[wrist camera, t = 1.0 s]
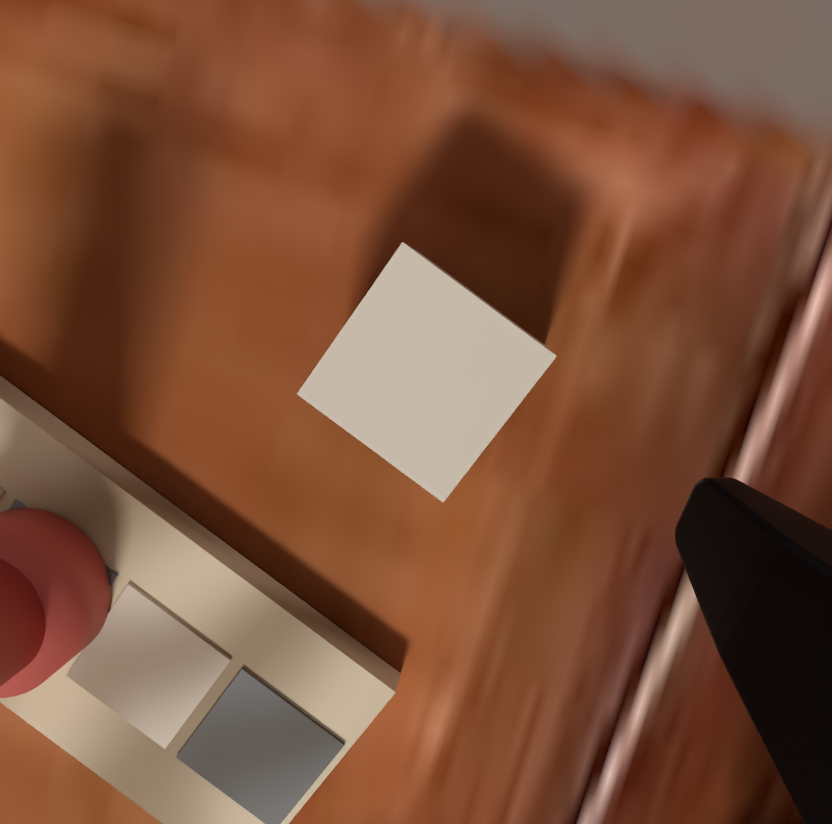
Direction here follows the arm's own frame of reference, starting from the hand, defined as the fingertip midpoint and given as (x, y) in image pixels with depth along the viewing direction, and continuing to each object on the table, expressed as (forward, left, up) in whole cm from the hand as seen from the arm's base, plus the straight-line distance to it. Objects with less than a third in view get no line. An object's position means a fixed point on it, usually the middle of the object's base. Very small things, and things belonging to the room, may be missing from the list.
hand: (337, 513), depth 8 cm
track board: (+6, +11, -11) cm, 17 cm away
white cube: (0, -1, -11) cm, 11 cm away
